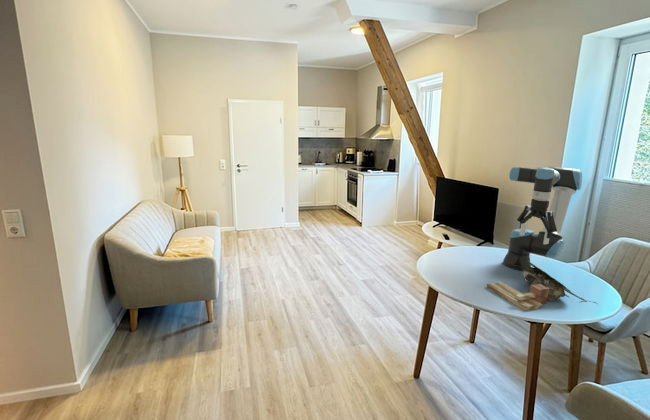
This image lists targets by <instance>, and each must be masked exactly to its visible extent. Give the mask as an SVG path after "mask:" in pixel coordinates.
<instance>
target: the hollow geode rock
mask: <svg viewBox="0 0 650 420" xmlns="http://www.w3.org/2000/svg"><path fill="white" fill-rule="evenodd" d="M527 262H528V261H527ZM528 263H529V264H531V267H525V269H524V270H522V272H523V273H522V275H523V276H522V278H523V280H525V281H527V283H529V284H530V285H529V288H530V287H531V285H536V284H541V285H543V286H545V287H547V288H549V293H548V298H547V301H549V302H555V301H556V299H559V298H563V297H566V296H565V294H566V291H565V290H564V289H563V287H564V288H566V289H567V290H568V291H569V292H571V290H570V289H569V288H568V287H566V286H565V285H564V284H563V283H561V282H560V281H559V280H557V279H556V278H555V277H553V276H552V275H550V274H549V273H547V272H546V271H543V269H541V268H540V267H538V266H536V265H535V264H533V263H532V262H531V261H530V262H528ZM569 292H568V293H569Z"/></svg>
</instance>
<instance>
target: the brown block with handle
mask: <svg viewBox="0 0 650 420" xmlns="http://www.w3.org/2000/svg"><path fill="white" fill-rule="evenodd" d="M530 285H531V284H530ZM548 293H549V288H547V287H545V286H543V285H541V284H536V285H531V287H530V286H529V292H526V293H523V294H518V295H515V299H517V300H518V301H520V300H523V299H530V298H532V299H534V300H536V301H538V302H539V303H541V304H542V305H545V304H547V301H548V300H547V298H548Z"/></svg>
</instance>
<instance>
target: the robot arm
mask: <svg viewBox="0 0 650 420" xmlns="http://www.w3.org/2000/svg"><path fill="white" fill-rule="evenodd" d="M509 180H510V181H512V182H513V181H514V182H518V183H519V182H520V183H529V184H530V183H531V184H533V189H532V190H533V191H532V195H531V198H532V199H531V201H530V205H525V206H524V209H523V210H522V212H521V213H520V215H519V216H518V218H517V219H516V220H517V222H519V228H516V229H513V230H512V231H511V234H510V237H509V243H508V248H507V249H508V250H507V253H506V254H505V257H504V258H503V261H502V264H503V265H504V266H505V267H507V268H510V269H514V270H518V271H523V270H524V269H525V267H532V265H531V264H529V263H528V262H530V263H531V259H530V258H531V257H530V256H531V255H530V254H534V255H538V256H543V257H545V258H551V259H556V258H558V257H559V256H560V255H561V252H562V251H563V248H564V246H565V241H564V239H563V235H562V234H561V232H562V228H563V226H564V222H565V219H566V216H567V211H568V208H569V206H570V202H571V198H572V195H574V194H577V193H576V192H577V191H580V190H581V189H582V183H583V172H582V170H581V169H577V168H572V167H571V168H570V167H560V166H559V167H556V166H542V167H541V166H540V167H535V168H530V167H519V166H513V167H511V169H510V171H509ZM552 191H553V192H554V193H553V196H552V199H551V193H552ZM550 199H551V202H550ZM532 218H537V219H540V220H541V222H542V224H543V229H541V230H540V231H539V232H538V234H537V233H535V230H532V229H528V228H526V227H527V222H528V221H529V220H530V219H532ZM527 261H528V262H527Z"/></svg>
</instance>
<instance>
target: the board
mask: <svg viewBox="0 0 650 420" xmlns="http://www.w3.org/2000/svg"><path fill="white" fill-rule="evenodd" d="M486 289H488V290H489V291H491V292H493V293H495V294H497V295H498V296H500V297H502V298H503V299H505V300H506V301H508V302H510V303H511V304H513V305H515V306H517V307H518V308H520V309H521V310H524V311H532V310H537V309H542V307H543V304H541V303H539V302H538V301H536V300H534V299H532V298H530V299H523V300H520V301H518V300H517V299H515V295H518V294H524V293H523V292H521V291H519V290H517V289H515V288H514V287H512V286H510V285H508V284H507V283H504V282H503V281H501V282H493V283H487V284H486Z"/></svg>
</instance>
